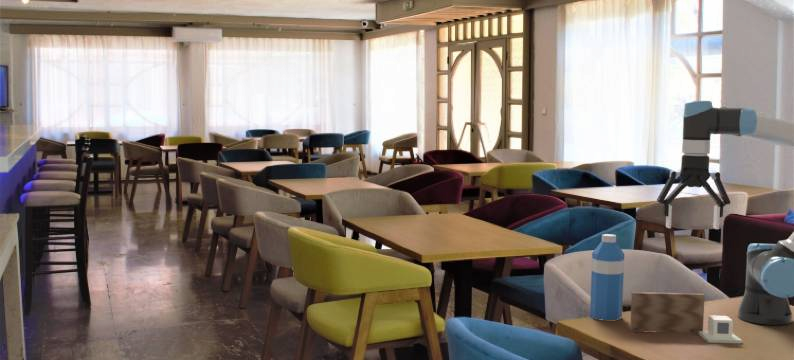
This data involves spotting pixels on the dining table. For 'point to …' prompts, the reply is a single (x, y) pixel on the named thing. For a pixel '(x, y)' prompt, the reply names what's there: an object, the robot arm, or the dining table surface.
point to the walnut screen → (667, 312)
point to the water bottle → (607, 279)
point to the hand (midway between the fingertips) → (692, 228)
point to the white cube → (720, 326)
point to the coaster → (719, 340)
